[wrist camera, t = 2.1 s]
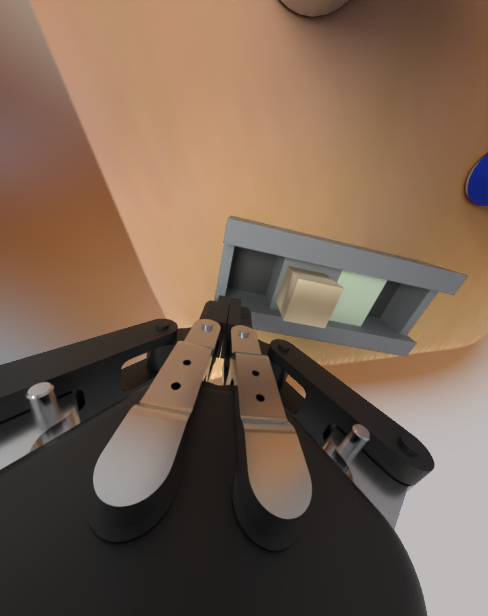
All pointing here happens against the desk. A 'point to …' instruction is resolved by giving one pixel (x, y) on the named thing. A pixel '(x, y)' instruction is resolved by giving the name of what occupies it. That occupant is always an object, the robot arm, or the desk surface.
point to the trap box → (342, 269)
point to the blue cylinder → (478, 183)
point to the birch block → (308, 297)
